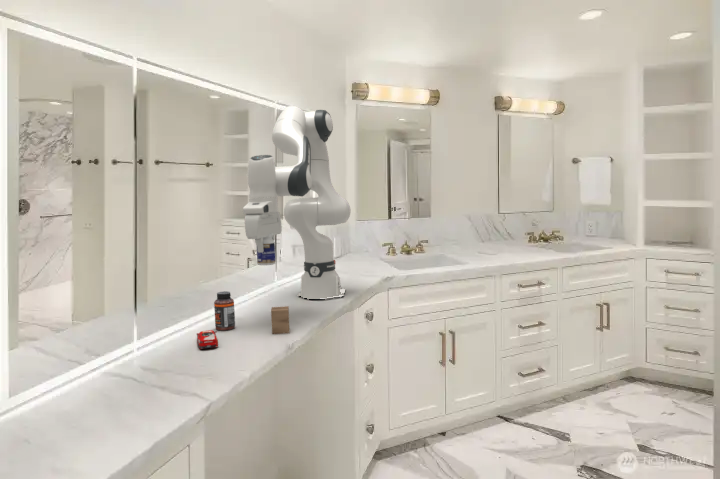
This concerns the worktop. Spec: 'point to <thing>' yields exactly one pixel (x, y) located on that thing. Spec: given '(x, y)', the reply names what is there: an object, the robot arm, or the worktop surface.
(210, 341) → the race car
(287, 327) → the walnut block
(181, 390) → the worktop surface
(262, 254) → the pill bottle
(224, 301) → the supplement bottle
